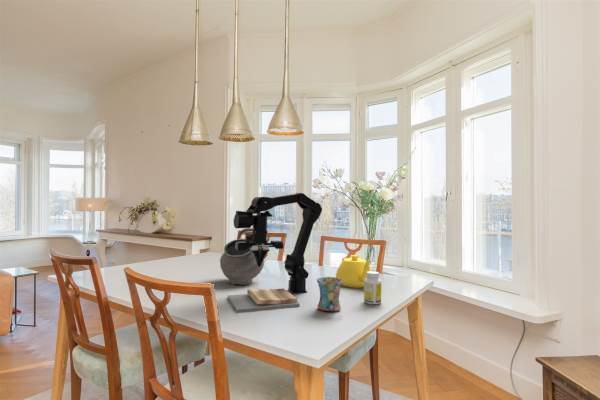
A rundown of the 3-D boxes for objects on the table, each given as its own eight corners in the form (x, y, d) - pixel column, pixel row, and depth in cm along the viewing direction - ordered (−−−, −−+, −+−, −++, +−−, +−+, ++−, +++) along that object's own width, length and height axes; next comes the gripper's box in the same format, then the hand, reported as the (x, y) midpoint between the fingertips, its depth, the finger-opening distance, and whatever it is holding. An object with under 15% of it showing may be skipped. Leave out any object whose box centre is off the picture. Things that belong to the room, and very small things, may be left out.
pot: (247, 275, 178) (248, 227, 179) (272, 282, 163) (273, 229, 164) (211, 281, 165) (212, 228, 165) (234, 289, 149) (236, 231, 150)
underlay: (283, 293, 145) (283, 291, 145) (299, 306, 127) (299, 303, 127) (227, 297, 136) (227, 295, 136) (237, 312, 118) (237, 309, 118)
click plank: (268, 293, 141) (269, 289, 141) (281, 304, 126) (281, 299, 126) (247, 293, 137) (247, 289, 138) (257, 304, 123) (257, 299, 123)
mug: (312, 306, 127) (312, 277, 127) (334, 304, 130) (335, 276, 130) (326, 316, 116) (326, 285, 116) (350, 314, 119) (351, 283, 119)
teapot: (386, 289, 155) (387, 259, 155) (352, 292, 149) (352, 260, 149) (358, 277, 178) (358, 251, 178) (327, 280, 172) (327, 252, 172)
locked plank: (283, 292, 143) (283, 288, 143) (296, 302, 128) (297, 298, 128) (269, 293, 141) (270, 289, 141) (282, 304, 126) (282, 299, 126)
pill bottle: (381, 301, 136) (382, 271, 136) (380, 305, 130) (380, 274, 130) (365, 299, 138) (365, 270, 138) (362, 303, 132) (363, 273, 132)
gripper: (275, 226, 150) (275, 262, 150) (233, 226, 143) (232, 264, 143) (284, 228, 140) (283, 266, 140) (238, 228, 133) (237, 269, 133)
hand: (259, 266), depth 139 cm, fingers closed
